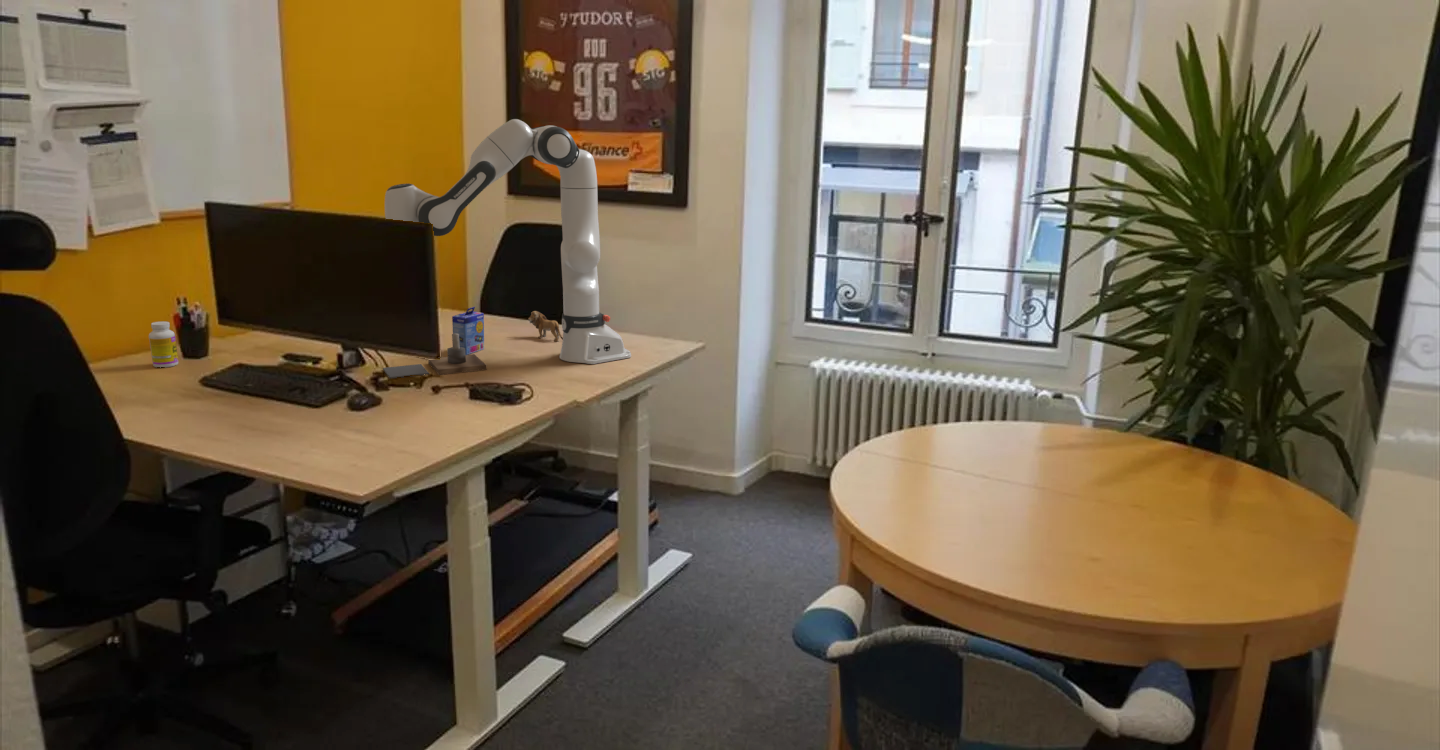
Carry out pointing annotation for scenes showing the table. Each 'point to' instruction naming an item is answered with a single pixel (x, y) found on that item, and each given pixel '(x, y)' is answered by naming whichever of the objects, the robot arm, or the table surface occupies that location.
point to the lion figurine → (545, 325)
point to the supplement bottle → (163, 345)
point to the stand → (457, 360)
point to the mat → (405, 371)
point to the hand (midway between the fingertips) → (404, 289)
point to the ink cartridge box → (469, 330)
